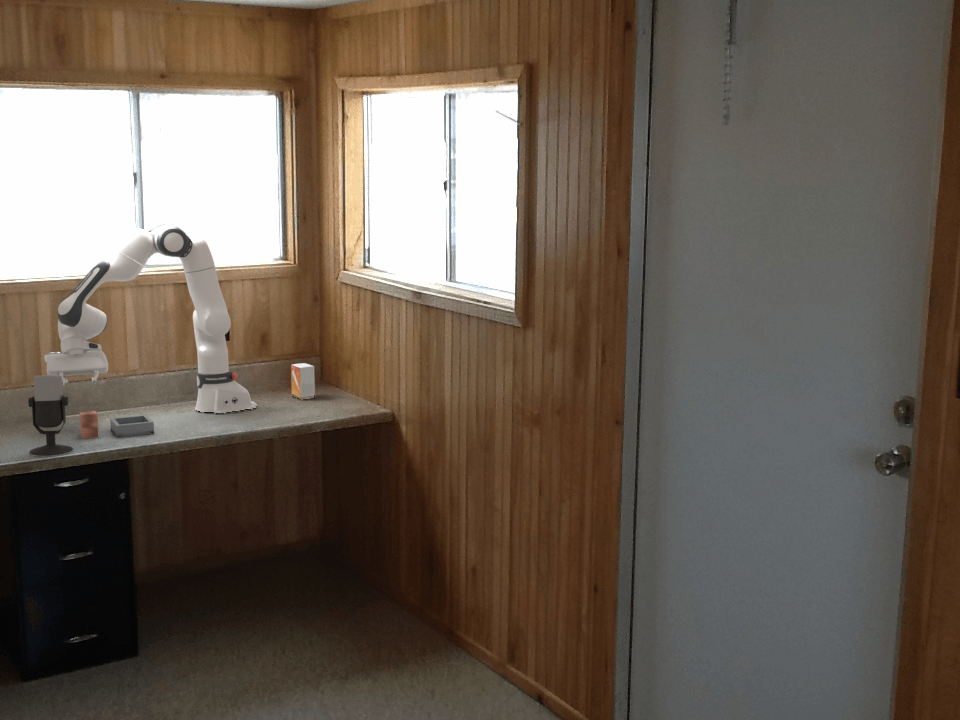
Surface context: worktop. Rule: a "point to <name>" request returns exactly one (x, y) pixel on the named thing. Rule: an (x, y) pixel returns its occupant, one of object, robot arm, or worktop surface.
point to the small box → (303, 380)
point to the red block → (88, 424)
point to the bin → (131, 425)
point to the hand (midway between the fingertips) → (80, 383)
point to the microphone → (48, 413)
